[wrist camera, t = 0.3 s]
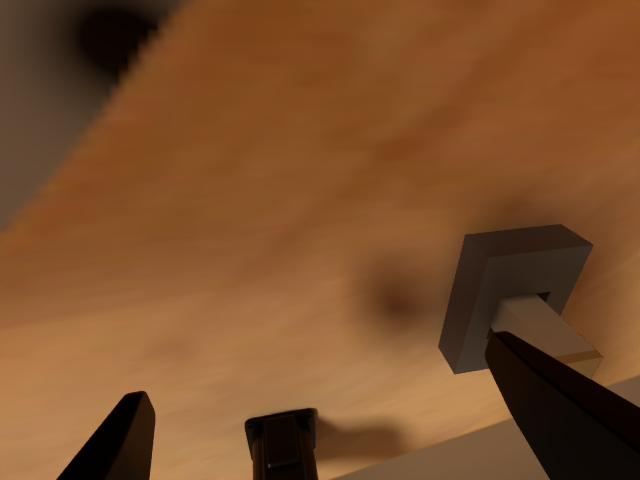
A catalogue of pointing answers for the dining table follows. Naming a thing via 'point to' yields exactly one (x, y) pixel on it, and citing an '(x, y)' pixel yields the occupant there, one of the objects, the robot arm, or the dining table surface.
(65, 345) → the dining table surface
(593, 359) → the plug
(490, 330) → the block
